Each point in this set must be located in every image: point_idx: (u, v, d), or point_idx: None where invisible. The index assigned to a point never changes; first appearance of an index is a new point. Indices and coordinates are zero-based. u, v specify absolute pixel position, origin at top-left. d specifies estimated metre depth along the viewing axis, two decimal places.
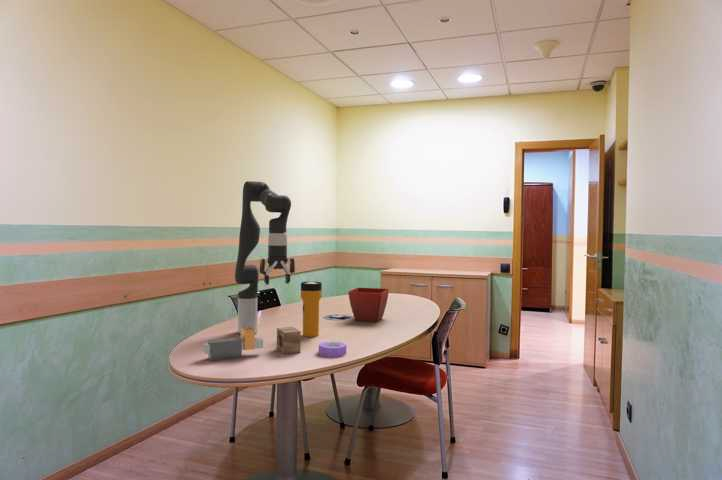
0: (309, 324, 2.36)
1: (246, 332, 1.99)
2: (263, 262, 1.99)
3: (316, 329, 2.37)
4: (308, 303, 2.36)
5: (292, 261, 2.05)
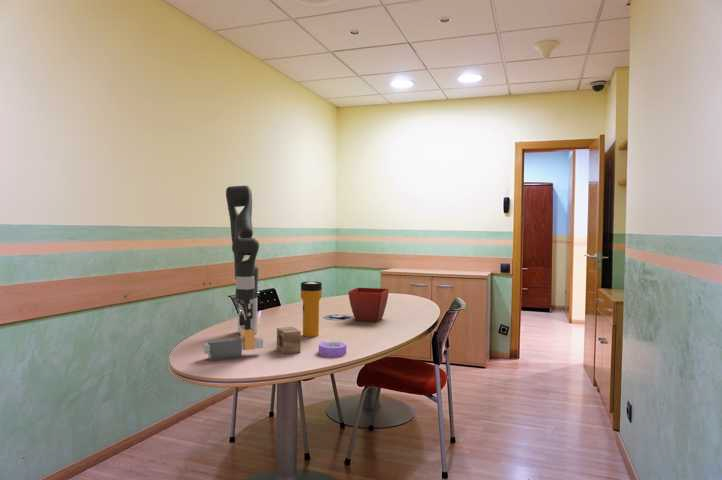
0: (309, 324, 2.36)
1: (246, 332, 1.99)
2: None
3: (316, 329, 2.37)
4: (308, 303, 2.36)
5: None
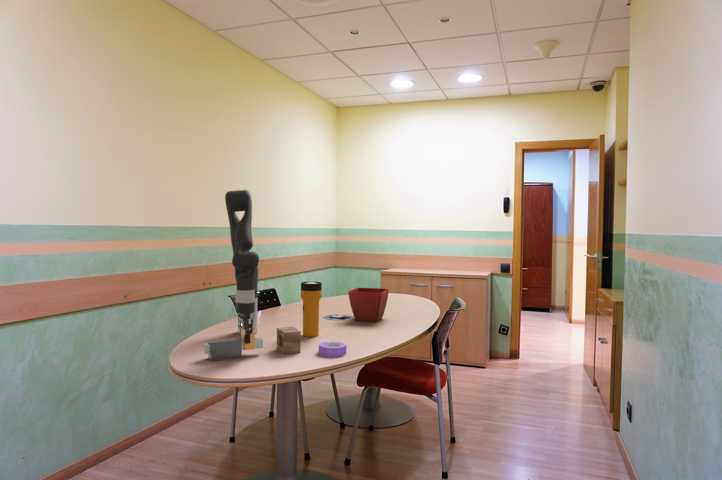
0: (309, 324, 2.36)
1: None
2: None
3: (316, 329, 2.37)
4: (308, 303, 2.36)
5: None
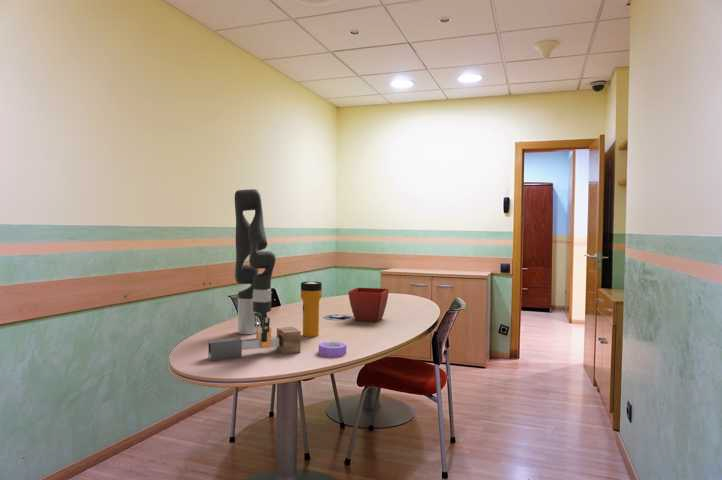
0: (309, 324, 2.36)
1: None
2: None
3: (316, 329, 2.37)
4: (308, 303, 2.36)
5: None
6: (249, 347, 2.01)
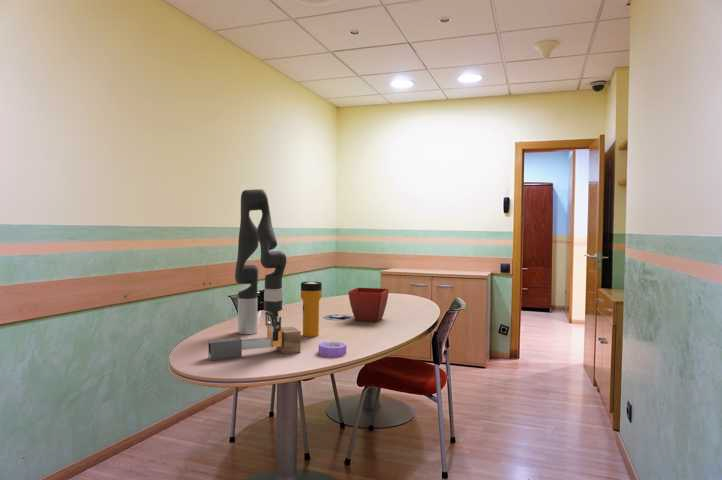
0: (309, 324, 2.36)
1: None
2: None
3: (316, 329, 2.37)
4: (308, 303, 2.36)
5: None
6: (261, 346, 2.03)
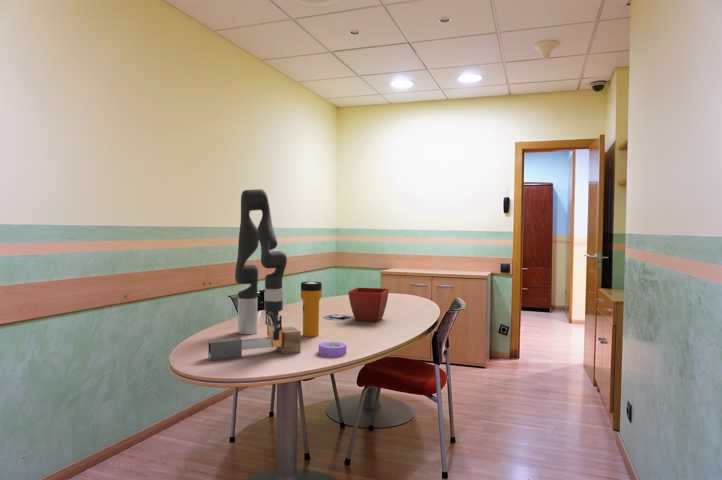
0: (309, 324, 2.36)
1: None
2: None
3: (316, 329, 2.37)
4: (308, 303, 2.36)
5: None
6: (261, 346, 2.03)
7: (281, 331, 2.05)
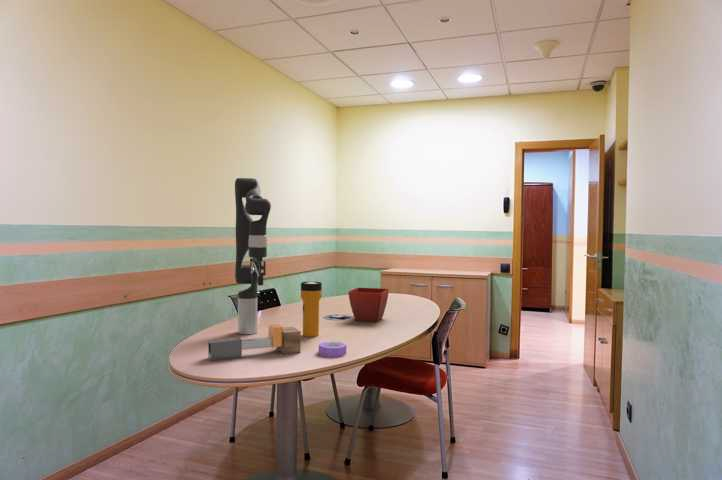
0: (309, 324, 2.36)
1: (274, 329, 2.04)
2: None
3: (316, 329, 2.37)
4: (308, 303, 2.36)
5: None
6: (261, 346, 2.03)
7: (281, 331, 2.05)
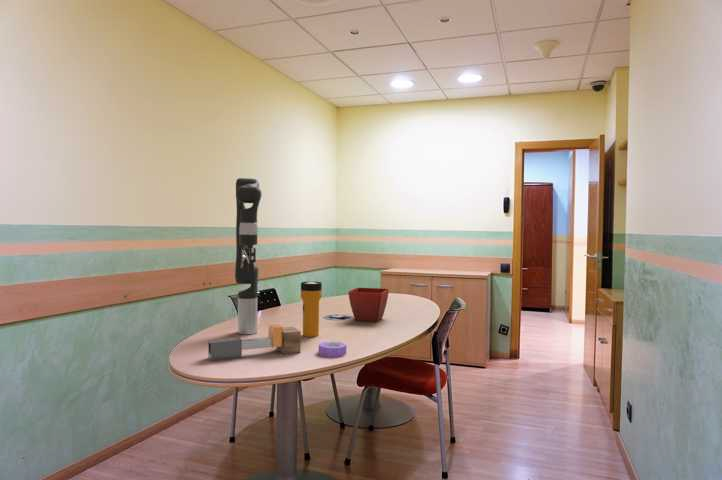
0: (309, 324, 2.36)
1: (274, 329, 2.04)
2: None
3: (316, 329, 2.37)
4: (308, 303, 2.36)
5: None
6: (261, 346, 2.03)
7: (281, 331, 2.05)
